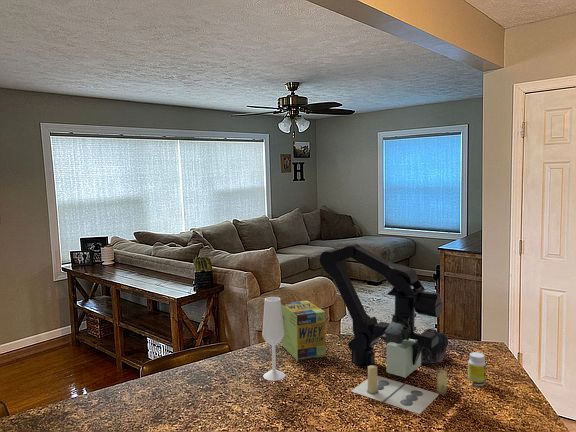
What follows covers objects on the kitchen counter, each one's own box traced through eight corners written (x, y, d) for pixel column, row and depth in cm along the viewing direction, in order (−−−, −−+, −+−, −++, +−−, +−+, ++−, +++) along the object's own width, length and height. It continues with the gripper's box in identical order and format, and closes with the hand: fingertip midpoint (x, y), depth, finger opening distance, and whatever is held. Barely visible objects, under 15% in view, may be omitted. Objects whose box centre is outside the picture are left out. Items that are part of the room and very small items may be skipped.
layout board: (350, 395, 128) (350, 366, 127) (373, 378, 138) (373, 351, 137) (419, 418, 115) (419, 387, 115) (439, 398, 125) (439, 369, 125)
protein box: (297, 361, 151) (296, 315, 150) (281, 345, 166) (280, 303, 164) (326, 356, 155) (325, 311, 154) (307, 341, 169) (307, 299, 168)
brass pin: (434, 396, 126) (435, 372, 126) (438, 393, 128) (439, 368, 128) (444, 399, 125) (444, 374, 124) (447, 395, 127) (448, 371, 126)
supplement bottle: (487, 387, 131) (487, 358, 131) (469, 385, 132) (470, 357, 132) (483, 379, 136) (484, 351, 135) (466, 378, 137) (467, 350, 136)
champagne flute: (264, 370, 145) (262, 295, 142) (285, 371, 144) (284, 295, 142) (262, 380, 138) (260, 302, 136) (284, 380, 138) (282, 302, 135)
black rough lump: (397, 360, 153) (398, 332, 150) (413, 344, 163) (414, 318, 161) (437, 373, 145) (439, 344, 143) (451, 355, 155) (453, 328, 153)
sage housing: (386, 372, 136) (386, 344, 135) (402, 360, 144) (402, 333, 143) (405, 377, 132) (405, 349, 131) (421, 365, 140) (421, 337, 139)
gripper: (362, 312, 136) (362, 363, 138) (423, 324, 124) (423, 380, 126) (381, 303, 145) (380, 351, 146) (439, 314, 133) (438, 366, 134)
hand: (404, 362), depth 138 cm, fingers closed on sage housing, 6 cm apart
